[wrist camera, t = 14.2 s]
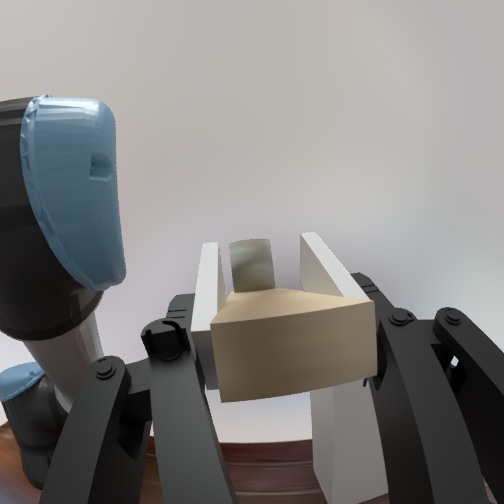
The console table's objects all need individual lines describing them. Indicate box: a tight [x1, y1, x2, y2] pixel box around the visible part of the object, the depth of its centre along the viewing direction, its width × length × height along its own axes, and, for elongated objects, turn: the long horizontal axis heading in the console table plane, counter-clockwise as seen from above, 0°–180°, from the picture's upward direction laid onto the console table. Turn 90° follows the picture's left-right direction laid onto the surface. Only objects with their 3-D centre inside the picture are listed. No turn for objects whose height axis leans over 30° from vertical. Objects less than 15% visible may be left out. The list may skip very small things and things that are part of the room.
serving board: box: [210, 239, 377, 403], centre depth 19 cm, size 4×26×6 cm, turn 3°
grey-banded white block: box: [310, 379, 389, 504], centre depth 33 cm, size 12×12×28 cm
